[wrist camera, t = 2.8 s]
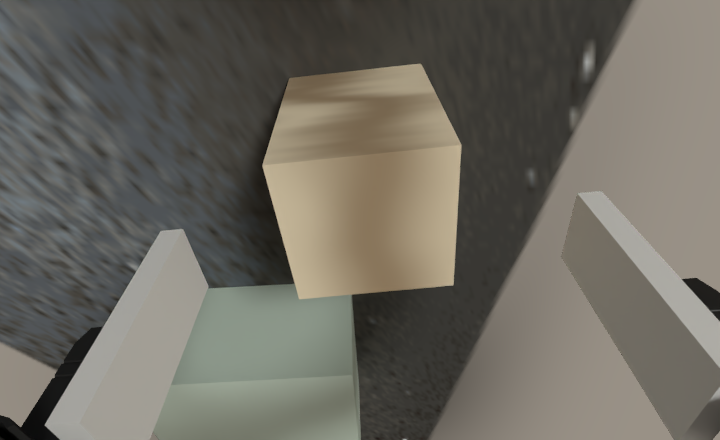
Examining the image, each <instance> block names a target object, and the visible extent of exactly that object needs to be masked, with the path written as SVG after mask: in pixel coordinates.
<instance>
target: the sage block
mask: <svg viewBox="0 0 720 440" xmlns="http://www.w3.org/2000/svg"><path fill="white" fill-rule="evenodd" d="M153 433H154V434H155V435H156V437H157V438H158V439H159V440H361V434H360V405H359V380H358V368H357V355H356V343H355V330H354V318H353V305H352V295H342V296H331V297H320V298H309V299H299V297H298V293H297V290H296V286H295V284H284V285H266V286H247V287H229V288H210V289H207V292H206V294H205V297H204V299H203V302H202V305H201V307H200V310H199V313H198V315H197V318H196V320H195V323H194V326H193V328H192V331H191V333H190V336H189V339H188V341H187V344H186V347H185V349H184V352H183V354H182V357H181V360H180V362H179V365H178V367H177V370H176V373H175V375H174V378H173V381H172V383H171V386H170V388H169V391H168V394H167V396H166V399H165V402H164V404H163V407H162V409H161V412H160V415H159V417H158V420H157V422H156V425H155V428H154V430H153Z"/></svg>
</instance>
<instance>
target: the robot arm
mask: <svg viewBox="0 0 720 440" xmlns="http://www.w3.org/2000/svg"><path fill="white" fill-rule="evenodd" d="M561 257H562V259H563V261H564V262H565V264H566V265H567V267H568V269H569V270H570V272H571V274H572V275H573V277H574V278H575V280H576V281H577V283H578V285H579V286H580V288H581V290H582V291H583V293H584V295H585V296H586V298H587V299H588V301H589V303H590V304H591V306H592V308H593V309H594V311H595V312H596V314H597V316H598V317H599V319H600V321H601V322H602V324H603V325H604V327H605V329H606V330H607V332H608V334H609V335H610V337H611V338H612V340H613V342H614V343H615V345H616V346H617V348H618V350H619V351H620V353H621V355H622V356H623V358H624V359H625V361H626V363H627V364H628V366H629V368H630V369H631V371H632V372H633V374H634V376H635V377H636V379H637V381H638V382H639V384H640V385H641V387H642V389H643V390H644V392H645V393H646V395H647V397H648V398H649V400H650V402H651V403H652V405H653V406H654V408H655V410H656V411H657V413H658V415H659V416H660V418H661V419H662V421H663V423H664V424H665V426H666V427H667V429H668V431H669V432H670V434H671V436H672V437H673V439H674V440H713V438H714V437H715V436H716V435H717V434H718V432H719V431H720V293H719V292H718V291H716V290H715V289H713V288H712V287H710V286H708V285H706V284H705V283H704V282H702V281H700V280H699V279H697V278H690V279H681V278H680V277H679V276H678V275H677V274H676V273H675V272H674V271H673V269H671V267H670V266H669V265H668V264H667V263H666V262H665V261H664V260H663V258H662V257H661V256H660V255H659V254H658V253H657V252H656V251H655V250H654V249H653V248H652V246H651V245H650V244H649V243H648V242H647V241H646V240H645V239H644V238H643V236H642V235H641V234H640V233H639V232H638V231H637V230H636V229H635V228H634V227H633V226H632V224H631V223H630V222H629V221H628V220H627V219H626V218H625V217H624V216H623V214H622V213H621V212H620V211H619V210H618V209H617V208H616V207H615V206H614V205H613V203H612V202H611V201H610V200H609V199H608V198H607V197H606V196H605V195H604V194H603V192H602V191H598V192H588V193H577V197H576V201H575V205H574V209H573V212H572V216H571V221H570V224H569V228H568V232H567V236H566V240H565V244H564V248H563V252H562V256H561ZM207 289H208V284H207V282H206V280H205V278H204V275H203V273H202V271H201V269H200V266H199V264H198V262H197V260H196V257H195V255H194V253H193V251H192V248H191V246H190V244H189V242H188V239H187V237H186V235H185V233H184V230H183V229H178V230H167V231H161V232H160V233H159V235H158V237H157V238H156V240H155V242H154V243H153V245H152V247H151V248H150V250H149V252H148V253H147V255H146V257H145V258H144V260H143V262H142V263H141V265H140V267H139V268H138V270H137V272H136V273H135V275H134V277H133V278H132V280H131V282H130V283H129V285H128V287H127V288H126V290H125V292H124V293H123V295H122V297H121V298H120V300H119V302H118V303H117V305H116V307H115V308H114V310H113V312H112V313H111V315H110V317H109V318H108V320H107V322H106V323H105V325H104V327H96V328H91V329H90V330H89V331H88V332H87V333H86V334H84V335H83V336H82V337H81V338H80V339H79V340H78V341H77V342H76V343H75V344H74V346H73V347H72V349H71V350H70V352H69V353H68V355H67V357H66V358H65V360H64V364H61V366H60V367H59V369H58V371H57V372H56V374H55V378H53V379H52V380H51V382H50V383H49V385H48V386H47V388H46V389H45V391H44V392H43V394H42V395H41V397H40V399H39V400H38V402H37V403H36V405H35V407H34V408H33V410H32V411H31V413H30V414H29V416H28V417H27V419H26V420H25V422H24V423H23V425H22V427H19V426H18V425H17V424H16V423H15V422H14V421H12V420H11V419H10V418H8V417H4V416H1V415H0V440H150V438H151V436H152V433H153V430H154V428H155V425H156V422H157V420H158V417H159V415H160V412H161V409H162V407H163V404H164V402H165V399H166V396H167V394H168V391H169V388H170V386H171V383H172V381H173V378H174V375H175V373H176V370H177V367H178V365H179V362H180V360H181V357H182V354H183V352H184V349H185V347H186V344H187V341H188V339H189V336H190V333H191V331H192V328H193V326H194V323H195V320H196V318H197V315H198V313H199V310H200V307H201V305H202V302H203V299H204V297H205V294H206V292H207Z"/></svg>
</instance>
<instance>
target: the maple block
mask: <svg viewBox="0 0 720 440" xmlns="http://www.w3.org/2000/svg"><path fill="white" fill-rule="evenodd" d="M460 159H461V143H460V141H459V139H458V137H457V135H456V133H455V131H454V129H453V127H452V125H451V123H450V121H449V119H448V117H447V115H446V113H445V111H444V109H443V107H442V105H441V103H440V101H439V99H438V97H437V95H436V93H435V91H434V89H433V87H432V85H431V83H430V81H429V79H428V77H427V75H426V73H425V71H424V69H423V67H422V65H421V64H413V65H404V66H395V67H386V68H377V69H368V70H359V71H350V72H340V73H331V74H322V75H313V76H304V77H295V78H289V81H288V84H287V87H286V90H285V94H284V97H283V100H282V103H281V107H280V110H279V113H278V116H277V119H276V123H275V126H274V129H273V132H272V136H271V139H270V142H269V145H268V148H267V152H266V155H265V158H264V161H263V165H262V166H263V170H264V174H265V177H266V181H267V185H268V188H269V192H270V195H271V199H272V203H273V206H274V210H275V214H276V217H277V221H278V224H279V228H280V232H281V235H282V239H283V243H284V246H285V250H286V253H287V257H288V261H289V264H290V268H291V272H292V275H293V279H294V283H295V286H296V290H297V293H298V297H299V299H309V298H320V297H331V296H342V295H353V294H363V293H374V292H385V291H396V290H407V289H418V288H428V287H439V286H450V285H453V283H454V265H455V248H456V230H457V212H458V195H459V177H460Z"/></svg>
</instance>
